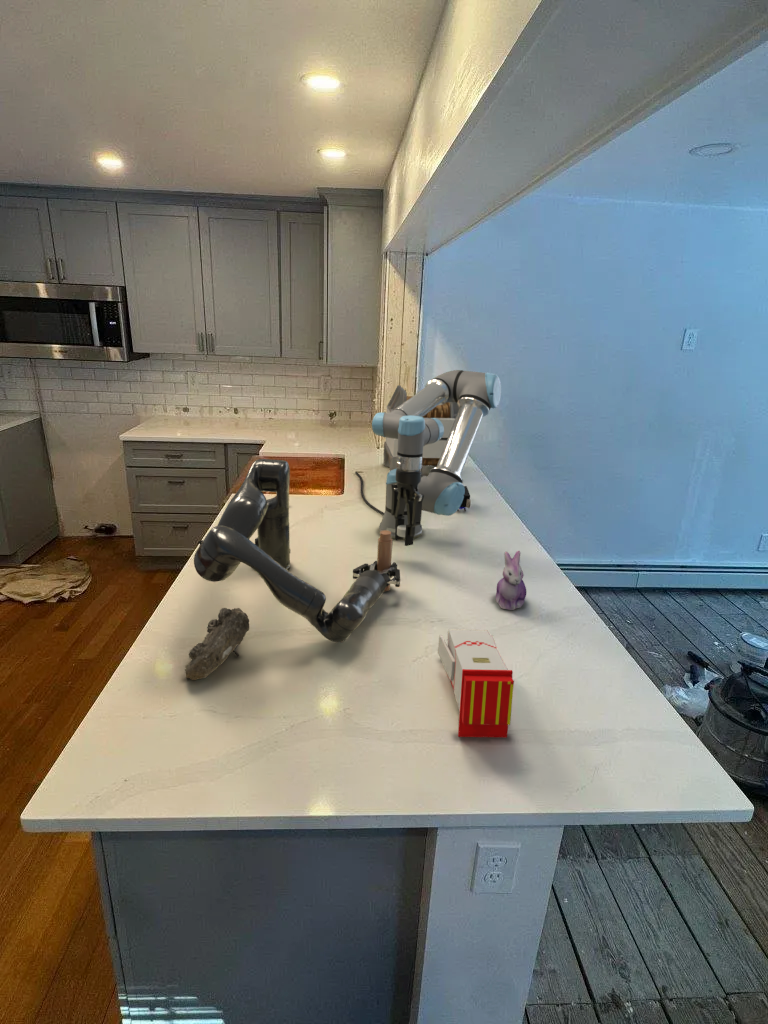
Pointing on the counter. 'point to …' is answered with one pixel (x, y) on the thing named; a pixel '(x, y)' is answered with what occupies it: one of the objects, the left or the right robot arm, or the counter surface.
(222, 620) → the fossil
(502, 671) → the toy
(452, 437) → the right robot arm
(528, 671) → the counter surface
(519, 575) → the figurine
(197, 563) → the left robot arm
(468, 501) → the figurine character
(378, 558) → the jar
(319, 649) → the counter surface
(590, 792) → the counter surface
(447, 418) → the white slatted crate
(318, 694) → the counter surface
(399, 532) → the lid
